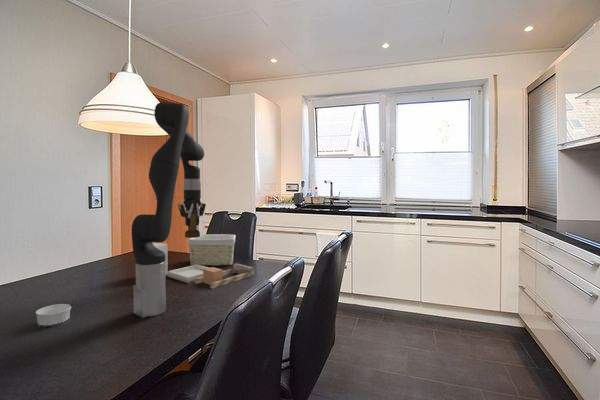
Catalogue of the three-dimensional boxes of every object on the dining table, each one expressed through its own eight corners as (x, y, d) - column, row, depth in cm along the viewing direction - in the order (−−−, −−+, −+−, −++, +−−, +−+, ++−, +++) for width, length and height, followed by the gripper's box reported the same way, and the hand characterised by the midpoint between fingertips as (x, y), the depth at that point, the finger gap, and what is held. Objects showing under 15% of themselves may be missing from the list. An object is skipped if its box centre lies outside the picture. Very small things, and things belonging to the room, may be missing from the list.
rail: (212, 288, 136) (212, 279, 135) (194, 283, 143) (194, 274, 143) (253, 275, 155) (253, 267, 155) (236, 271, 162) (236, 263, 162)
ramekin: (66, 314, 109) (65, 301, 109) (75, 321, 103) (75, 308, 103) (32, 323, 102) (32, 309, 102) (40, 331, 96) (39, 317, 96)
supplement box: (138, 278, 149) (137, 246, 148) (151, 273, 157) (151, 242, 156) (155, 280, 146) (155, 247, 146) (168, 274, 155) (168, 243, 154)
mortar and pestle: (195, 238, 149) (194, 198, 148) (182, 237, 150) (181, 198, 149) (202, 235, 155) (202, 198, 154) (189, 235, 156) (189, 197, 155)
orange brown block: (213, 286, 139) (213, 272, 139) (203, 282, 143) (203, 269, 143) (222, 283, 143) (222, 269, 143) (212, 280, 147) (212, 266, 147)
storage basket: (236, 258, 188) (236, 233, 188) (234, 266, 172) (234, 238, 172) (193, 259, 185) (192, 234, 184) (187, 267, 169) (187, 239, 168)
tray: (188, 283, 142) (188, 277, 142) (167, 276, 152) (167, 271, 152) (217, 275, 155) (217, 269, 155) (197, 269, 165) (197, 264, 165)
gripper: (183, 189, 143) (183, 228, 144) (209, 188, 155) (210, 224, 156) (173, 188, 148) (174, 226, 149) (200, 188, 159) (200, 223, 160)
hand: (192, 225), depth 152 cm, fingers closed on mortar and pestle, 4 cm apart
